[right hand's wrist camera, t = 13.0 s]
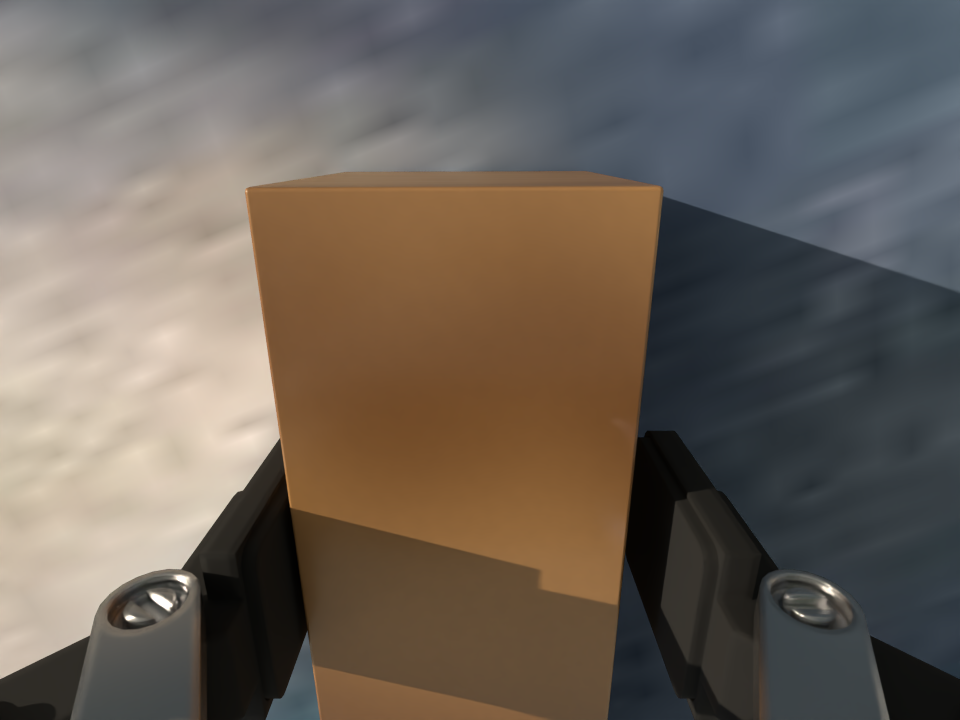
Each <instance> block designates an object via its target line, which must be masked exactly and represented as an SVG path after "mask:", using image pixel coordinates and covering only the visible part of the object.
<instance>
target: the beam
mask: <svg viewBox="0 0 960 720" xmlns="http://www.w3.org/2000/svg"><path fill="white" fill-rule="evenodd" d="M245 194H246V201H247V208H248V215H249V222H250V229H251V236H252V243H253V250H254V258H255V265H256V272H257V279H258V286H259V293H260V300H261V307H262V314H263V321H264V328H265V335H266V342H267V349H268V356H269V363H270V370H271V377H272V384H273V391H274V398H275V405H276V412H277V419H278V426H279V433H280V440H281V447H282V454H283V461H284V468H285V475H286V482H287V489H288V496H289V503H290V510H291V517H292V524H293V531H294V538H295V545H296V553H297V560H298V567H299V574H300V581H301V588H302V595H303V602H304V609H305V616H306V623H307V630H308V637H309V644H310V651H311V658H312V665H313V672H314V679H315V686H316V693H317V700H318V707H319V714H320V720H608V711H609V701H610V692H611V683H612V673H613V664H614V654H615V645H616V635H617V626H618V616H619V607H620V597H621V588H622V578H623V569H624V559H625V550H626V541H627V531H628V522H629V512H630V503H631V493H632V484H633V474H634V465H635V455H636V446H637V436H638V427H639V417H640V408H641V399H642V389H643V380H644V370H645V361H646V351H647V342H648V332H649V323H650V313H651V304H652V294H653V285H654V275H655V266H656V256H657V247H658V238H659V228H660V219H661V209H662V200H663V188H662V187H660V186H657V185H652V184H647V183H642V182H637V181H632V180H627V179H622V178H617V177H612V176H607V175H602V174H597V173H592V172H588V171H503V172H343V173H337V174H330V175H324V176H317V177H311V178H305V179H298V180H292V181H285V182H279V183H273V184H266V185H260V186H253V187H249V188H246V191H245Z"/></svg>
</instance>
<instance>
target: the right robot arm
mask: <svg viewBox="0 0 960 720" xmlns="http://www.w3.org/2000/svg"><path fill="white" fill-rule="evenodd" d="M625 552H626V557H627V561H628V564H629V566H630V569H631V572H632V575H633V577H634V580H635V583H636V586H637V588H638V591H639V594H640V597H641V599H642V602H643V605H644V608H645V611H646V613H647V616H648V619H649V622H650V624H651V627H652V630H653V633H654V635H655V638H656V641H657V644H658V647H659V649H660V652H661V655H662V658H663V660H664V663H665V666H666V669H667V671H668V674H669V677H670V680H671V682H672V685H673V688H674V691H675V693H676V695H677V697H678V698H687V701H688V704H689V706H690V709H691V712H692V714H693V717H694V720H960V679H958V678H956V677H954V676H952V675H950V674H948V673H946V672H944V671H942V670H940V669H937V668H935V667H933V666H931V665H929V664H927V663H925V662H923V661H921V660H919V659H917V658H915V657H913V656H911V655H909V654H907V653H905V652H903V651H901V650H898V649H896V648H894V647H892V646H890V645H888V644H886V643H884V642H882V641H880V640H878V639H876V638H874V637H872V636H870V635H869V630H868V626H867V622H866V618H865V615H864V613H863V610H862V608H861V606H860V605H859V603H858V602H857V601H856V600H855V599H854V598H853V597H852V596H851V594H849V593H848V592H847V591H845V590H844V589H843V588H841V587H840V586H839V585H837V584H835V583H833V582H831V581H829V580H827V579H825V578H824V577H821V576H818V575H815V574H812V573H809V572H806V571H800V570H794V569H781V570H779V569H778V568H777V566H776V565H775V564H774V562H773V561H772V559H771V558H770V557H769V555H768V554H767V552H766V551H765V550H764V548H763V547H762V545H761V544H760V543H759V541H758V540H757V538H756V537H755V536H754V534H753V533H752V531H751V530H750V529H749V527H748V526H747V524H746V523H745V522H744V520H743V519H742V517H741V516H740V515H739V513H738V512H737V511H736V509H735V508H734V506H733V505H732V504H731V502H730V501H729V499H728V498H727V497H726V495H725V494H724V493H723V492H720V491H717V490H716V489H715V487H714V486H713V484H712V483H711V482H710V480H709V479H708V477H707V476H706V474H705V473H704V472H703V470H702V469H701V467H700V466H699V464H698V463H697V462H696V460H695V459H694V457H693V456H692V454H691V453H690V452H689V450H688V449H687V447H686V446H685V444H684V443H683V442H682V440H681V439H680V437H679V436H678V435H677V433H676V432H675V431H647V432H646V433H645V436H644V437H638V438H637V446H636V455H635V465H634V474H633V484H632V493H631V503H630V512H629V522H628V531H627V541H626V550H625ZM306 633H307V623H306V616H305V609H304V602H303V595H302V588H301V581H300V574H299V567H298V560H297V553H296V545H295V538H294V531H293V524H292V517H291V510H290V503H289V496H288V489H287V482H286V475H285V468H284V461H283V454H282V447H281V440H280V439H279V440H278V442H277V443H276V445H275V446H274V447H273V449H272V450H271V452H270V453H269V454H268V456H267V457H266V459H265V460H264V462H263V463H262V464H261V466H260V467H259V469H258V470H257V472H256V473H255V474H254V476H253V477H252V479H251V480H250V482H249V483H248V484H247V486H246V487H245V489H244V490H243V491H240V492H237V493H236V494H235V495H234V497H233V498H232V499H231V501H230V502H229V504H228V505H227V506H226V508H225V509H224V511H223V512H222V513H221V515H220V516H219V517H218V519H217V520H216V522H215V523H214V524H213V526H212V527H211V529H210V530H209V531H208V533H207V534H206V536H205V537H204V538H203V540H202V541H201V543H200V544H199V545H198V547H197V548H196V550H195V551H194V552H193V554H192V555H191V557H190V558H189V559H188V561H187V562H186V564H185V565H184V566H183V568H182V569H181V570H179V569H166V570H160V571H154V572H151V573H148V574H145V575H142V576H139V577H136V578H135V579H133V580H131V581H129V582H127V583H125V584H123V585H121V586H120V587H119V588H117V589H116V590H115V591H113V592H112V593H111V594H109V596H108V597H107V598H106V599H105V600H104V601H103V602H102V603H101V605H100V606H99V608H98V610H97V613H96V615H95V618H94V622H93V626H92V630H91V635H90V636H88V637H86V638H84V639H82V640H80V641H78V642H76V643H74V644H72V645H70V646H68V647H66V648H64V649H62V650H59V651H57V652H55V653H53V654H51V655H49V656H47V657H45V658H43V659H41V660H39V661H37V662H35V663H33V664H31V665H29V666H27V667H25V668H23V669H20V670H18V671H16V672H14V673H12V674H10V675H8V676H6V677H4V678H2V679H0V720H266V717H267V714H268V712H269V709H270V706H271V704H272V701H273V698H282V697H283V695H284V693H285V691H286V688H287V685H288V683H289V680H290V677H291V674H292V671H293V669H294V666H295V663H296V660H297V658H298V655H299V652H300V649H301V647H302V644H303V641H304V638H305V635H306Z"/></svg>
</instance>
